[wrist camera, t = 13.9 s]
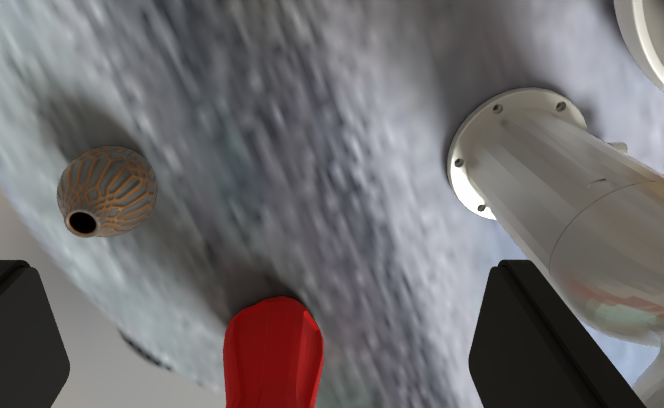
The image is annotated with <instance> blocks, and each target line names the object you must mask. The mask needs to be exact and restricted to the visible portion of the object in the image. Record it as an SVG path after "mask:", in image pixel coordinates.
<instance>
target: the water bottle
mask: <svg viewBox="0 0 664 408" xmlns="http://www.w3.org/2000/svg"><path fill="white" fill-rule="evenodd" d="M223 363H224V377H225V390H226V408H314V407H315V402H316V397H317V392H318V387H319V382H320V377H321V372H322V367H323V338H322V335H321V332H320V329H319V327H318V325H317V323H316V322H315V320H314V319H313V318H312V316H311V315H310V313H309V312H308V310H307V309H306V307H305V306H303V305H302V304H301V303H299V302H298V301H297V300H295V299H293V298H289V297H285V296H279V297H273V298H268V299H264V300H262V301H261V302H259V303H257V304H255V305H254V306H250V307H247V308H243V309H242V310H241V311H240V312H239V313H237V314H236V315H235V316H234V317H233V318H231V320H230V322H229V324H228V327H227V329H226V332H225V339H224V347H223Z"/></svg>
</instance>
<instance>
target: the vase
mask: <svg viewBox="0 0 664 408" xmlns="http://www.w3.org/2000/svg"><path fill="white" fill-rule="evenodd" d="M156 196H157V180H156V176H155V173H154V171H153V169H152V167H151V166H150V164H149V163H148V162H147V161H146V160H145V159H144V158H143V157H142V156H141V155H140V154H138V153H136V152H135V151H133V150H130V149H128V148H125V147H120V146H101V147H97V148H93V149H90V150H88V151H86V152H84V153H82V154H81V155H79V156H78V157H77V158H75V159H74V160H73V161H72V162H71V163H70V164H69V165H68V166H67V167H66V169H65V170H64V172H63V174H62V176H61V178H60V180H59V183H58V188H57V202H58V206H59V209H60V211H61V213H62V215H63V217H64V222H65V225H66V227H67V229H68V230H69V231H70V232H71V233H73V234H74V235H76V236H79V237H84V238H88V237H93V236H95V237H113V236H117V235H121V234H124V233H126V232H128V231H130V230H132V229H133V228H135V227H136V226H138V225H139V224H140V223H141V222H142V221H143V220H144V219H145V218H146V217H147V216H148V214H149V213H150V211H151V209H152V207H153V205H154V203H155V200H156Z"/></svg>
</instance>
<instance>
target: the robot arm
mask: <svg viewBox="0 0 664 408" xmlns="http://www.w3.org/2000/svg"><path fill="white" fill-rule="evenodd" d="M495 105H496V108H494V109H493V107H494V106H495ZM627 150H628V149H627V145H626V144H625V143H623V142H615V143H605V142H604V141H602V140H600V139H598V138H596V137H595V136H593V135H591V134H589V133H588V129H587V126H586V122H585V119H584V117H583V115H582V114H581V112H580V111H579V109H578V108H577V107H576V106H575V105H574V104H573V103H572V102H571V101H570V100H569V99H567V98H565V97H563V96H562V95H560V94H558V93H555V92H553V91H550V90H548V89H542V88H536V87H528V88H518V89H514V90H509V91H506V92H504V93H501V94H499V95H496V96H494V97H492V98H491V99H489V100H488V101H486V102H484V103H483V104H481V105H480V106H479V107H478V108H477V109H475V110H474V111H473V112H472V113H471V114H470V115H469V116H468V117H467V118H466V120H465V121H464V122H463V123H462V124H461V126H460V127H459V129H458V131H457V133H456V134H455V136H454V138H453V140H452V143H451V146H450V149H449V153H448V159H447V175H448V179H449V183H450V186H451V188H452V190H453V192H454V194H455V195H456V197H457V198H458V199H459V200H460V202H461V203H462V204H463V205H464V206H465V207H466V208H467V209H468V210H470V211H471V212H473V213H475V214H477V215H479V216H482V217H485V218H488V219H495V220H497V221H498V222H499V223H500V225H501V226H502V227H503V228H504V230H505V231H506V232H507V233H508V235H509V236H510V237H511V238H512V240H513V241H514V242H515V243H516V245H517V246H518V247H519V248H520V250H521V251H522V252H523V253H524V255H525V256H526V257H527V258H528V259H529V260H502V261H500V262H499V264H498V267H492V268H491V270H490V273H489V277H488V281H487V285H486V289H485V293H484V297H483V301H482V305H481V309H480V313H479V317H478V321H477V326H476V330H475V334H474V338H473V342H472V346H471V350H470V354H469V371H470V374H471V377H472V379H473V382H474V384H475V387H476V389H477V392H478V394H479V397H480V399H481V402H482V404H483V407H484V408H664V175H663V174H661V173H659V172H657V171H656V170H654V169H652V168H650V167H648V166H647V165H645V164H643V163H641V162H640V161H638V160H636V159H634V158H632V157H631V156H629V155H627ZM457 159H458V160H457ZM455 160H457V161H455ZM576 317H577V318H578V319H580V320H581V321H582V322H583V323H585V324H586V325H588V326H589V327H591V328H593V329H594V330H596V331H598V332H600V333H602V334H605V335H607V336H610V337H613V338H616V339H619V340H623V341H627V342H631V343H636V344H641V345H647V346H653V347H660V352H659V354H658V356H657V358H656V359H655V361H654V362H653V363H652V364H651V365H650V366H649V367H648V368H647V369H646V370H645V371H644V373H643V374H642V375H641V376H639V377H638V379H637V382H636V383H635V384H634V385H633V386H631V387H630V386H629V384H628V383H627V382H626V380H625V379H624V378H623V377H622V375H621V374H620V373H619V371H618V370H617V369H616V368H615V366H614V365H613V364H612V363H611V361H610V360H609V359H608V357H607V356H606V355H605V354H604V352H603V351H602V350H601V348H600V347H599V346H598V345H597V343H596V342H595V341H594V339H593V338H592V337H591V336H590V334H589V333H588V332H587V331H586V329H585V328H584V327H583V325H582V324H581V323H580V322H579V320H578V319H577V318H576ZM69 371H70V363H69V359H68V356H67V353H66V351H65V348H64V345H63V342H62V339H61V336H60V333H59V330H58V327H57V325H56V322H55V319H54V316H53V313H52V310H51V307H50V304H49V301H48V299H47V295H46V293H45V290H44V287H43V284H42V281H41V278H40V275H39V273H38V271H37V270H36V269H35V268H33V267H30V265H29V264H28V263H27V262H26V261H23V260H0V408H51V406H52V404H53V403H54V401H55V399H56V398H57V396H58V394H59V393H60V391H61V389H62V387H63V386H64V384H65V383H66V381H67V378H68V376H69Z"/></svg>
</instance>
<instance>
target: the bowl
mask: <svg viewBox="0 0 664 408" xmlns="http://www.w3.org/2000/svg"><path fill="white" fill-rule="evenodd" d="M614 7H615V12H616V17H617V21H618V25H619V28H620V31H621V34H622V37H623V39H624V42H625V44H626V46H627V48H628V50H629V52H630V54H631V56H632V57H633V59H634V61H635V62H636V64H637V65H638V67H639V68H640V69H641V71H642V72H643V73H644V74H645V75H646V77H647V78H648V79H649V80H650V81H651V82H652V83H653V84H654V85H655V86H656V87H658V88H659V89H660V90H661V91H663V92H664V0H614Z"/></svg>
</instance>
